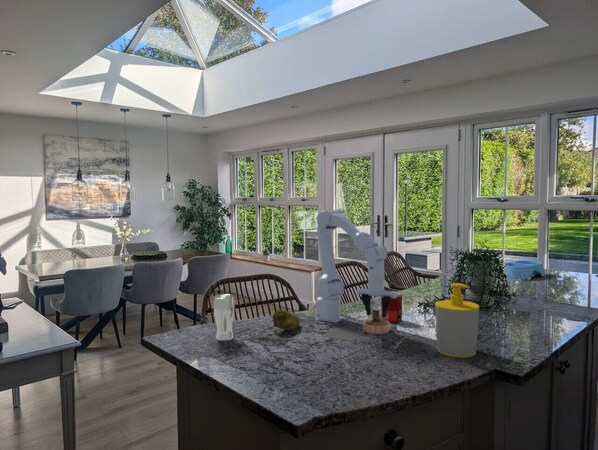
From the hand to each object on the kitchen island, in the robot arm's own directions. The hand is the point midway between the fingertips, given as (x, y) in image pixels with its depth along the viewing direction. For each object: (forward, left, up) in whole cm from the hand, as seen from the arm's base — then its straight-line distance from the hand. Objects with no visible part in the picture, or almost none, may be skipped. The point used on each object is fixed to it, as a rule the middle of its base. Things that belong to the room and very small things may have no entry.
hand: (376, 315), depth 157 cm
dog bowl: (+45, +146, -6) cm, 153 cm away
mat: (-9, -9, -6) cm, 14 cm away
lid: (0, 0, -2) cm, 2 cm away
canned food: (+1, +16, -6) cm, 17 cm away
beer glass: (-45, -31, -6) cm, 55 cm away
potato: (-30, -13, -6) cm, 33 cm away
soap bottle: (+29, -9, -6) cm, 31 cm away
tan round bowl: (0, 0, -6) cm, 6 cm away
